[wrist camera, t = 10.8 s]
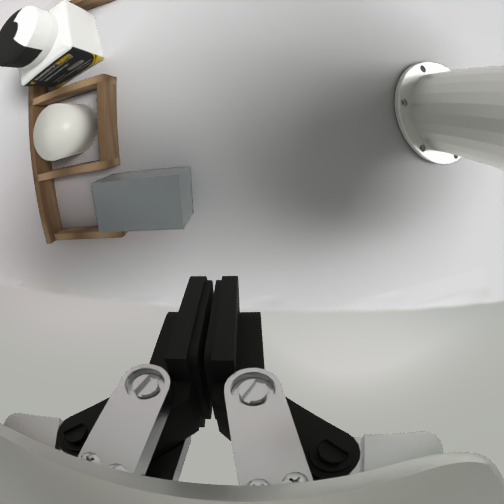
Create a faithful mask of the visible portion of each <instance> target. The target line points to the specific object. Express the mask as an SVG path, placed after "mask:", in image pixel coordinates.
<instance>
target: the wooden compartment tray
mask: <svg viewBox="0 0 504 504" xmlns="http://www.w3.org/2000/svg"><path fill="white" fill-rule="evenodd" d="M111 1H114V0H71V1H69V2H70V3H72V4H74V5H76V6H78V7H80V8H82V9H83V10H85V11H86V10H89V9H91V8H94V7H97V6H100V5H102V4H105V3H108V2H111ZM95 89H97V125H98V141H99V154H100V160H98V161H92V162H87V163H82V164H76V165H71V166H67V167H62V168H57V169H53V170H52V165H51V161H48V160H45V159H43V158H42V157H41V156H40V155H39V154H38V153H37V151H36V149H35V146H34V141H33V131H34V126H35V123H36V120H37V118H38V116H39V115H40V113H41V112H42V111H43V110H44V109H45V108H46V107H47V106H48V105H50V104H52V103H55V102H58V101H61V100H63V99H66V98H69V97H72V96H75V95H78V94H82V93H85V92H88V91H92V90H95ZM29 137H30V151H31V161H32V169H33V177H34V184H35V190H36V196H37V202H38V207H39V212H40V217H41V221H42V226H43V230H44V234H45V238H46V242H47V244H51V243H53V242H54V241H55V240H71V239H93V238H117V237H123V236H124V235H125V234H126V233H127V232H128V231H118V232H99V228H98V226H90V227H75V228H62V225H61V220H60V215H59V210H58V205H57V200H56V194H55V188H54V181H53V178H57V177H62V176H67V175H72V174H78V173H83V172H89V171H96V170H102V169H108V168H111V167H113V166H116V165H119V164H120V160H119V148H118V133H117V109H116V77H113V76H110V75H106V74H101V75H97V76H94V77H91V78H88V79H84V80H81V81H78V82H75V83H72V84H70V85H67V86H64V87H61V88H59V89H56V90H54V91H51V92H49V93H48V87H37V86H29Z"/></svg>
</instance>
